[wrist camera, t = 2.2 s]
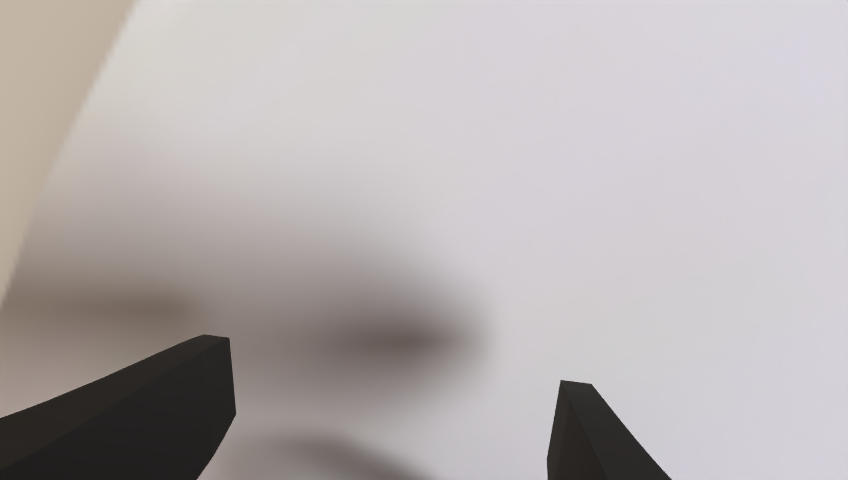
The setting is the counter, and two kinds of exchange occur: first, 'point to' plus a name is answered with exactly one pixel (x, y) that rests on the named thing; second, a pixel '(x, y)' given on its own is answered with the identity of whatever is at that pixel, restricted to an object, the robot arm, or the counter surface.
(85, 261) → the counter surface
